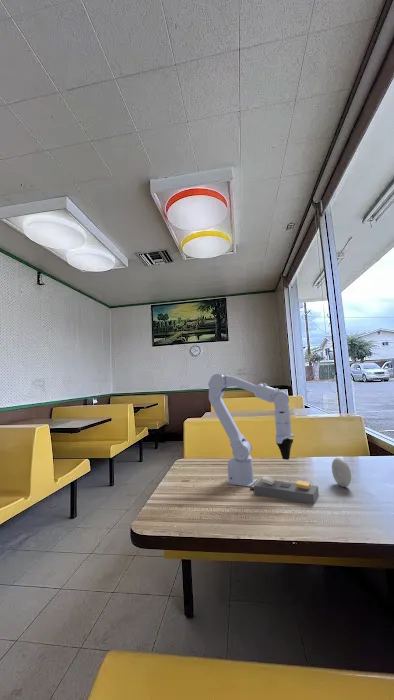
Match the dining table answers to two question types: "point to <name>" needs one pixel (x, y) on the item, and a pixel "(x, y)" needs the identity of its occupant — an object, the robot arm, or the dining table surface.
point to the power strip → (286, 491)
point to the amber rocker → (303, 484)
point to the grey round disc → (341, 472)
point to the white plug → (268, 480)
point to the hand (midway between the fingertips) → (286, 459)
